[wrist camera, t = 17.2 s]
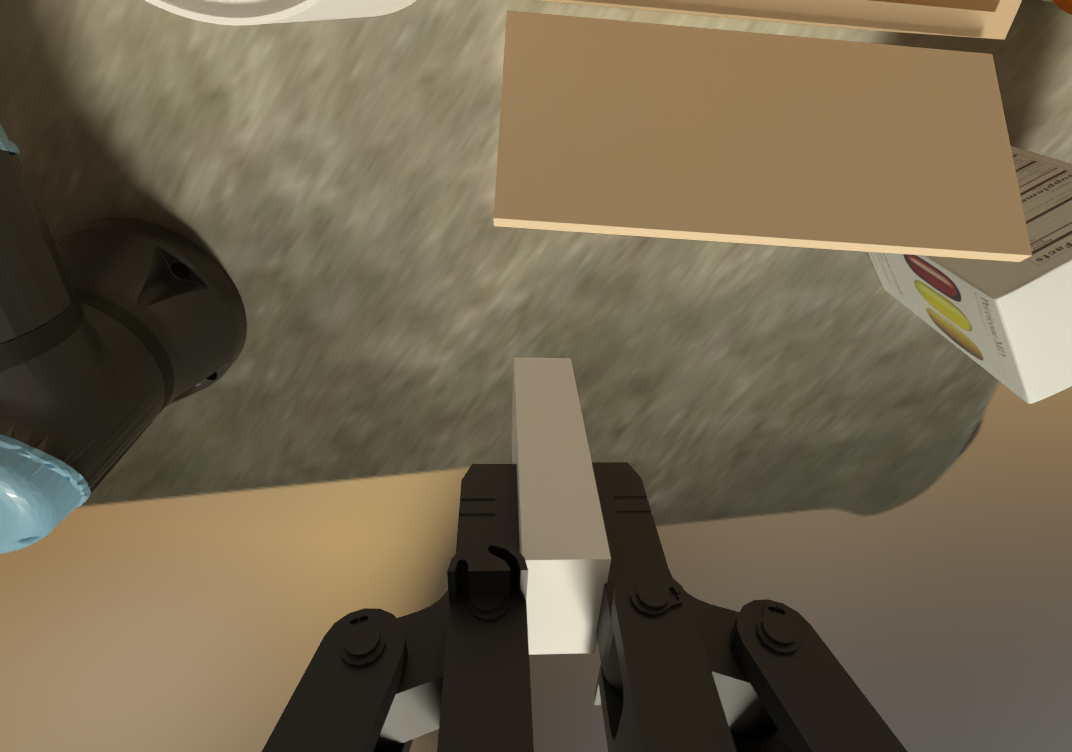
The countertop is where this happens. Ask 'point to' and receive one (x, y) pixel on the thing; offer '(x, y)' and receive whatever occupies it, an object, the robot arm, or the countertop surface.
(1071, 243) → the supplement box
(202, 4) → the canister
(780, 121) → the flap
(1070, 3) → the reusable coffee cup
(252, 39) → the countertop surface
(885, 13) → the carton
